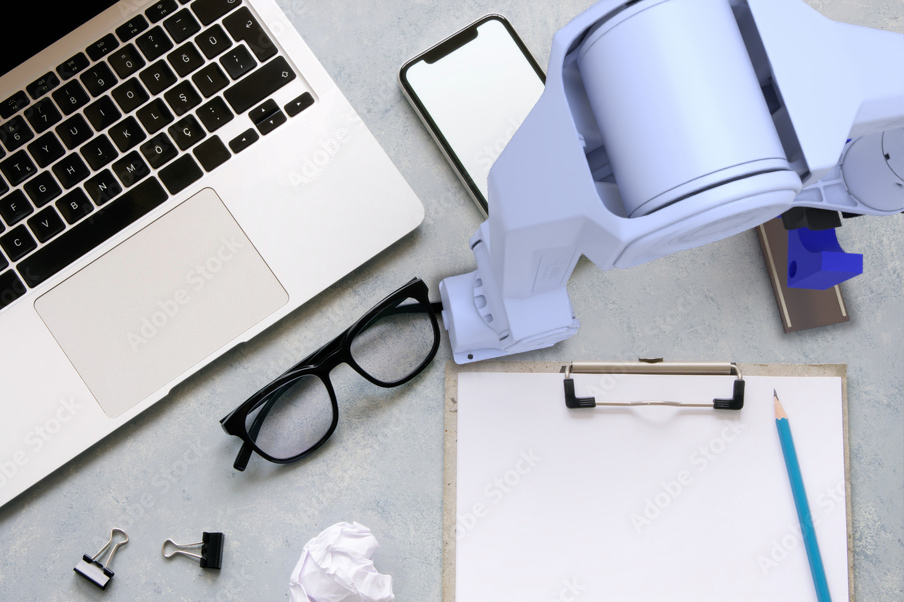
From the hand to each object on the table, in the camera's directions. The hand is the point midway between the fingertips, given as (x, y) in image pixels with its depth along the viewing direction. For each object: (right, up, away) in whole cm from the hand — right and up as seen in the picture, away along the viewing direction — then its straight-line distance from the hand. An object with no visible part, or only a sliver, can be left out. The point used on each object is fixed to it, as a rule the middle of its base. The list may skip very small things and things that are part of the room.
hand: (815, 212), depth 62 cm
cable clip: (0, 0, +2) cm, 2 cm away
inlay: (+3, -3, +9) cm, 9 cm away
